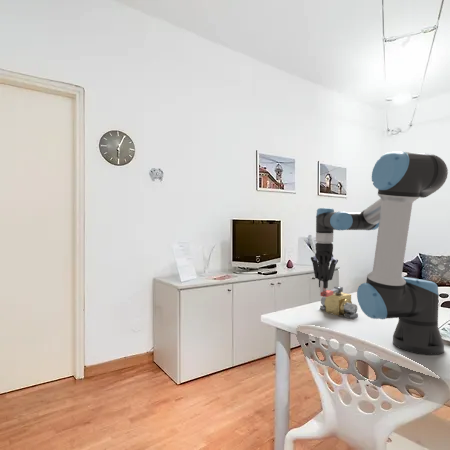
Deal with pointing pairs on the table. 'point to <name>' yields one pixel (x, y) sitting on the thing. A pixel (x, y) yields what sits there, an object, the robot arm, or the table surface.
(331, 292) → the lever
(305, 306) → the table surface
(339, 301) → the valve
